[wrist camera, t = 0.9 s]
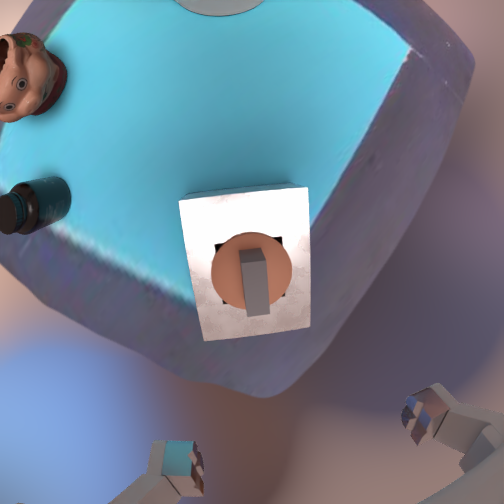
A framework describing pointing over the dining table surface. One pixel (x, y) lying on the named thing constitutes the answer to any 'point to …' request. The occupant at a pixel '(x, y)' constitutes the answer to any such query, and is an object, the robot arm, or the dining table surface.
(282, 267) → the end cover
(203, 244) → the housing
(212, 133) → the dining table surface
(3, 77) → the brown ceramic cup shape
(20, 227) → the supplement bottle
